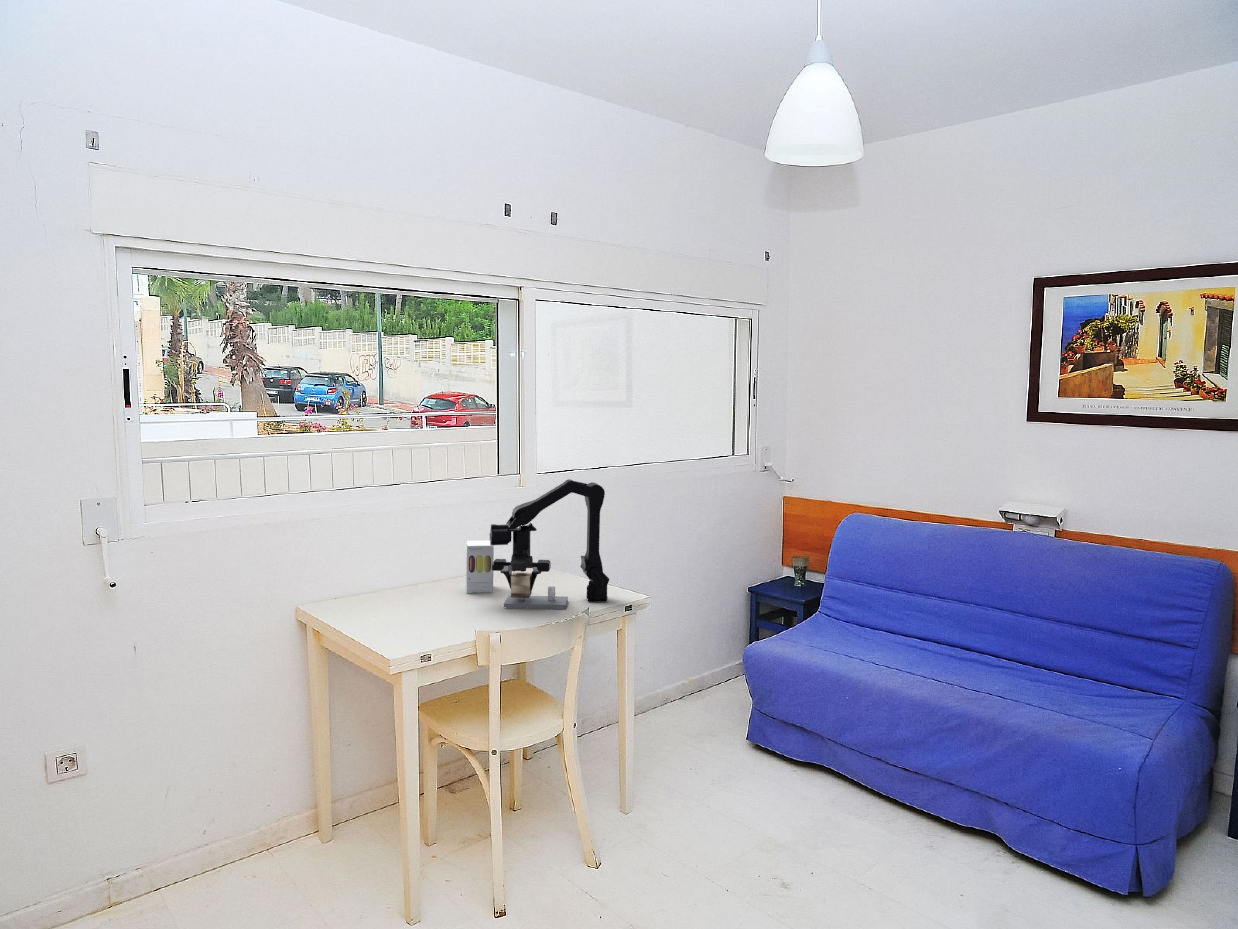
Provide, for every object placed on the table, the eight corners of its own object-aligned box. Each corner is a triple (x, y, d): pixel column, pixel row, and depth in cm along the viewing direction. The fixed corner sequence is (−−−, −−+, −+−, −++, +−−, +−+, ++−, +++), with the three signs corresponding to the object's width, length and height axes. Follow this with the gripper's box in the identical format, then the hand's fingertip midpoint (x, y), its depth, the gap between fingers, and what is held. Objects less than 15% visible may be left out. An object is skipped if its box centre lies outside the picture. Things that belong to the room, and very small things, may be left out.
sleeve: (531, 593, 270) (531, 572, 269) (529, 598, 264) (529, 577, 263) (513, 592, 270) (513, 572, 269) (511, 597, 264) (511, 576, 263)
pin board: (567, 600, 272) (568, 583, 272) (565, 609, 262) (565, 591, 262) (508, 599, 272) (508, 582, 272) (503, 608, 263) (503, 590, 262)
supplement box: (466, 593, 279) (465, 545, 277) (465, 586, 288) (465, 540, 286) (494, 592, 281) (494, 545, 279) (492, 585, 290) (492, 539, 288)
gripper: (488, 548, 257) (488, 596, 259) (547, 550, 257) (547, 598, 259) (494, 541, 268) (494, 587, 270) (550, 542, 268) (550, 589, 270)
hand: (521, 590), depth 267 cm, fingers closed on sleeve, 6 cm apart
